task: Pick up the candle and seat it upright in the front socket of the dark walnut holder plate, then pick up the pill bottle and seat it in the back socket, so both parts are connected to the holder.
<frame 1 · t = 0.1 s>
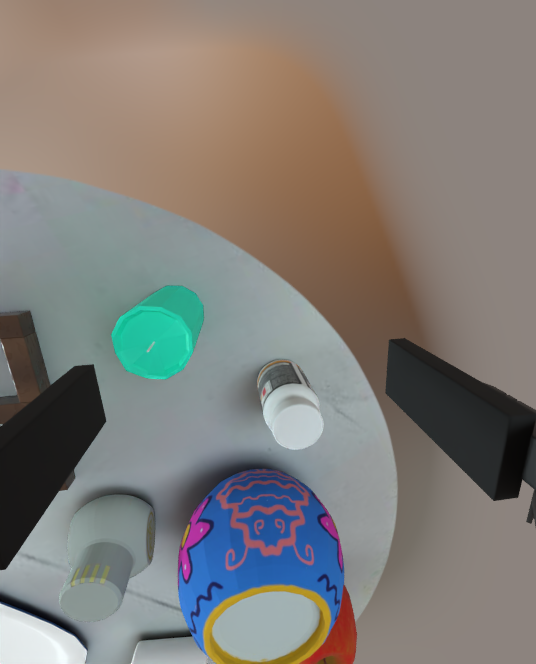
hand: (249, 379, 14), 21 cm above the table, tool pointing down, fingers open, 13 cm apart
candle: (176, 312, 34), on the table
mug: (175, 650, 48), on the table
pill bottle: (280, 379, 37), on the table
air freshener: (123, 515, 40), on the table
apple: (307, 582, 48), on the table
ceramic pot: (255, 498, 42), on the table
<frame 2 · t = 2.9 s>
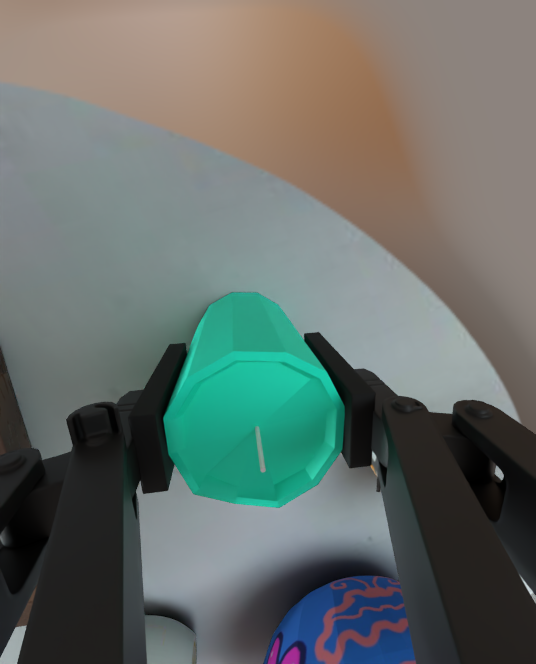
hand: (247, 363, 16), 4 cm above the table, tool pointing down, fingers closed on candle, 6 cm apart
candle: (244, 336, 20), on the table, touching gripper
air freshener: (148, 636, 27), on the table
ceramic pot: (341, 604, 28), on the table
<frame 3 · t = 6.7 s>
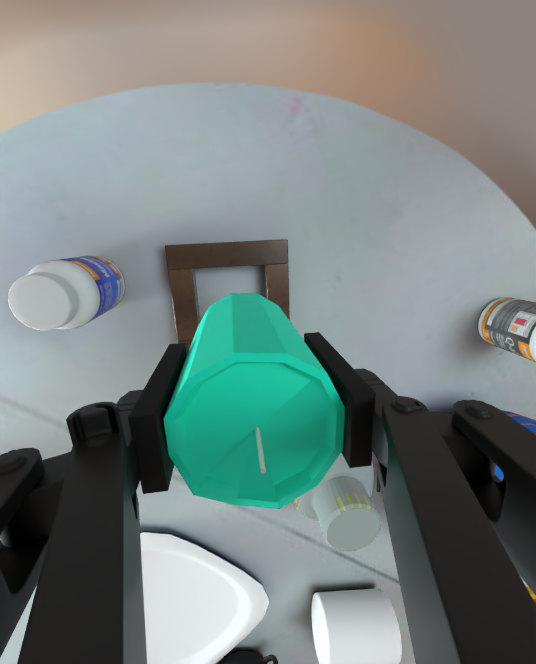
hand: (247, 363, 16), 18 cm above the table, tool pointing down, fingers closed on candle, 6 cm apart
pill bottle 2: (98, 283, 31), on the table
candle: (244, 337, 20), point 13 cm above the table, touching gripper
mug: (341, 604, 48), on the table
pill bottle: (496, 319, 37), on the table
air freshener: (323, 459, 40), on the table
plate: (162, 603, 44), on the table
ceramic pot: (447, 445, 42), on the table
mug 2: (247, 655, 49), on the table
holder: (235, 340, 34), on the table
when the fingers open (4 cm above the table, at t = 10.6 s): candle stays where it is, resting in holder.
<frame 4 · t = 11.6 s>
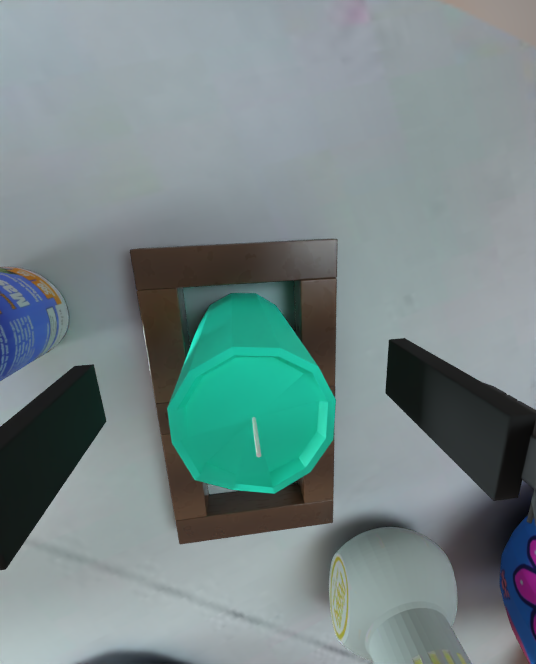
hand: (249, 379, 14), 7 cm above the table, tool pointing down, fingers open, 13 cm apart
pill bottle 2: (24, 311, 19), on the table
candle: (243, 335, 21), resting in holder
air freshener: (371, 553, 28), on the table
holder: (247, 395, 22), on the table
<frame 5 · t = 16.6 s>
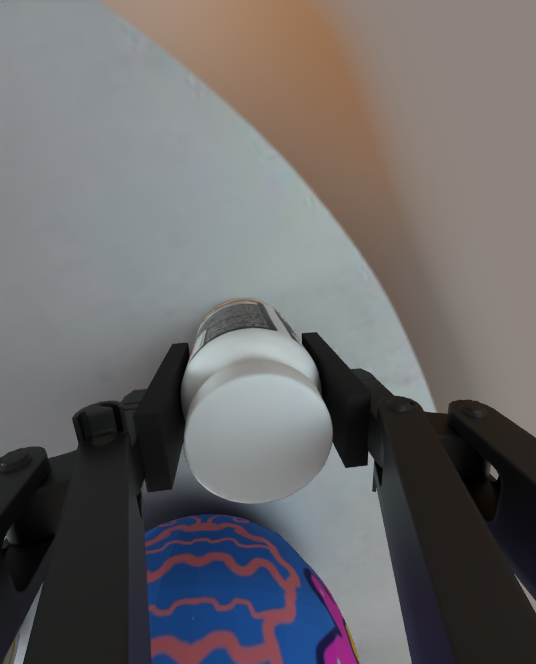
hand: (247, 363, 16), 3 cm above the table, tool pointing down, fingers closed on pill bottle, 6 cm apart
pill bottle: (244, 341, 19), on the table, touching gripper
ceramic pot: (207, 558, 24), on the table
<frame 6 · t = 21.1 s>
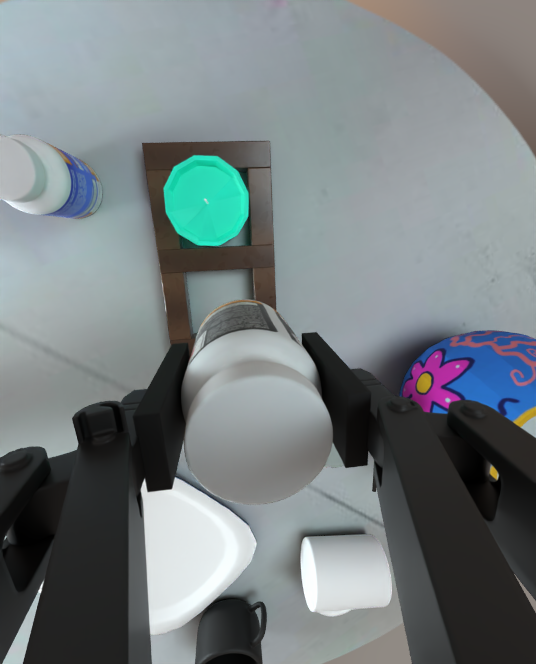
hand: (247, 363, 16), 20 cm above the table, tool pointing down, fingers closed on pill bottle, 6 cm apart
pill bottle 2: (74, 189, 30), on the table
candle: (214, 213, 32), resting in holder
mug: (331, 552, 47), on the table
pill bottle: (244, 342, 19), point 16 cm above the table, touching gripper
plate: (147, 546, 43), on the table
ceramic pot: (439, 380, 41), on the table
mug 2: (235, 605, 48), on the table
holder: (218, 257, 33), on the table
when the fingers open (3 cm above the table, at t = 25.8 s): pill bottle stays where it is, resting in holder.
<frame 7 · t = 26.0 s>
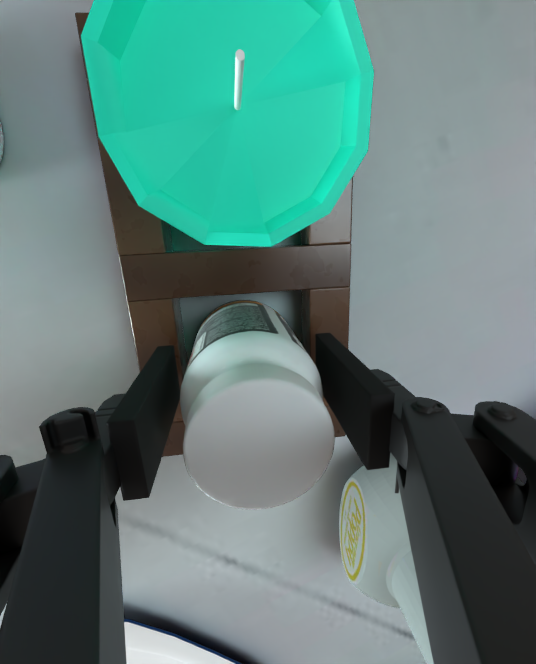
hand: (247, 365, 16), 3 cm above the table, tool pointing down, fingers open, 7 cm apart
candle: (233, 184, 16), resting in holder
pill bottle: (244, 343, 19), resting in holder
air freshener: (388, 489, 24), on the table
holder: (239, 268, 18), on the table
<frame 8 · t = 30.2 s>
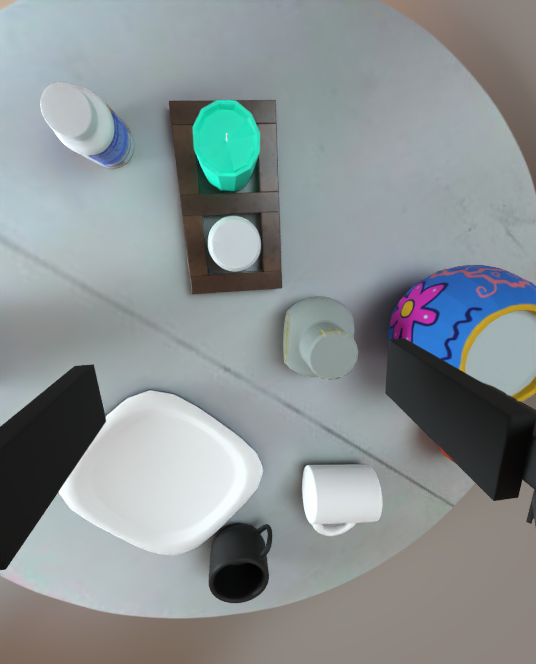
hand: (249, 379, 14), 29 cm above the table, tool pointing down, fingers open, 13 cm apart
pill bottle 2: (110, 143, 35), on the table
candle: (227, 166, 37), resting in holder
mug: (329, 483, 53), on the table
pill bottle: (233, 243, 40), resting in holder
air freshener: (311, 330, 45), on the table
plate: (166, 472, 48), on the table
ceramic pot: (424, 322, 46), on the table
mug 2: (243, 532, 54), on the table
holder: (230, 205, 39), on the table
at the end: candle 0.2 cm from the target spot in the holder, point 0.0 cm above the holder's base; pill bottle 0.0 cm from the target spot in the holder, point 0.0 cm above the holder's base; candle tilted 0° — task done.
